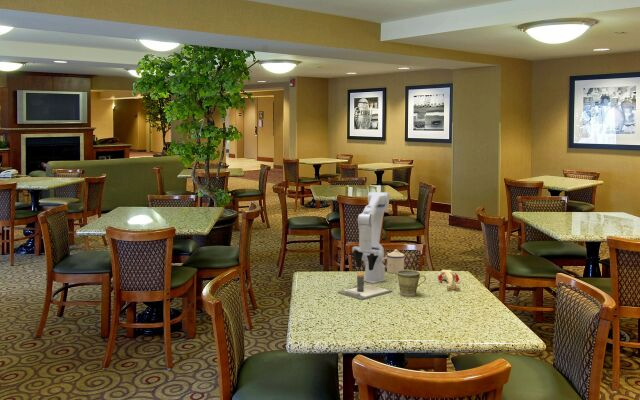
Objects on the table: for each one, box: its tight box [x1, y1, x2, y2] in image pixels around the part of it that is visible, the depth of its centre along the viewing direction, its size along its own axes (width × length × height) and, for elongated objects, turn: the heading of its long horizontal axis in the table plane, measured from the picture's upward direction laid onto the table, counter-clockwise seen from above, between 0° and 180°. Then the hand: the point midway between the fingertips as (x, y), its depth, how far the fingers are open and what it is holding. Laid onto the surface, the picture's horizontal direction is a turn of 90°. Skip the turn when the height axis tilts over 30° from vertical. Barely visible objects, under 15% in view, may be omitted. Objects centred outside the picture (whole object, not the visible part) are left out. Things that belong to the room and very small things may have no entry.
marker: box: [356, 272, 365, 292], centre depth 269 cm, size 3×3×8 cm
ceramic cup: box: [396, 269, 427, 297], centre depth 267 cm, size 13×10×10 cm
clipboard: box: [337, 283, 393, 301], centre depth 270 cm, size 20×15×2 cm
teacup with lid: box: [382, 249, 406, 275], centre depth 310 cm, size 12×9×12 cm
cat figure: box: [436, 269, 461, 292], centre depth 285 cm, size 10×9×25 cm
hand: (364, 268), depth 276 cm, fingers open, 7 cm apart
